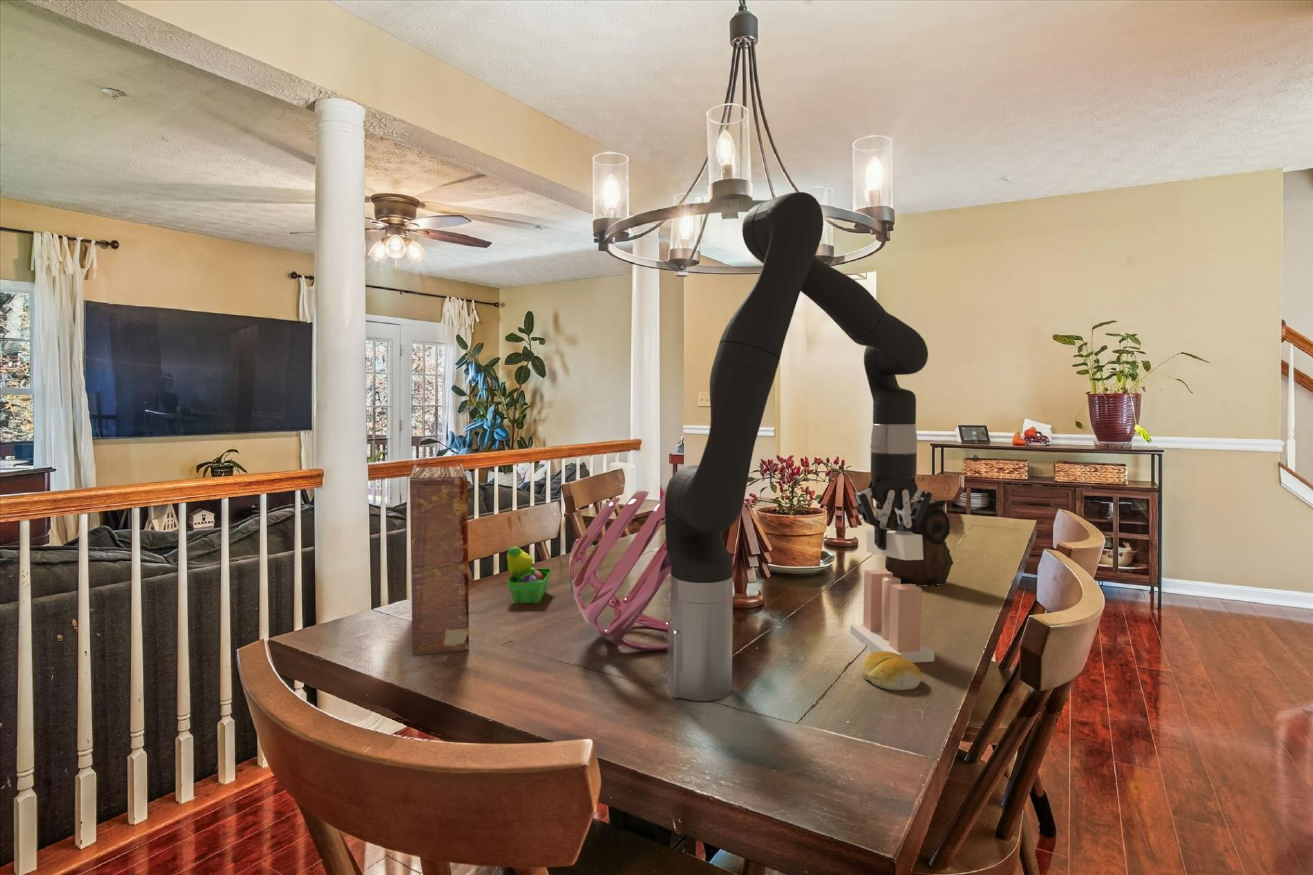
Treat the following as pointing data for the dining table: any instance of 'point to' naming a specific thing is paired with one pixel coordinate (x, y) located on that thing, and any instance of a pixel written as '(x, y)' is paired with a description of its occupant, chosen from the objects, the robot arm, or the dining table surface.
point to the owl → (924, 548)
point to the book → (439, 559)
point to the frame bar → (897, 545)
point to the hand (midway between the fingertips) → (892, 548)
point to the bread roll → (891, 671)
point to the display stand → (892, 617)
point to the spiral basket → (621, 572)
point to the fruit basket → (525, 577)
